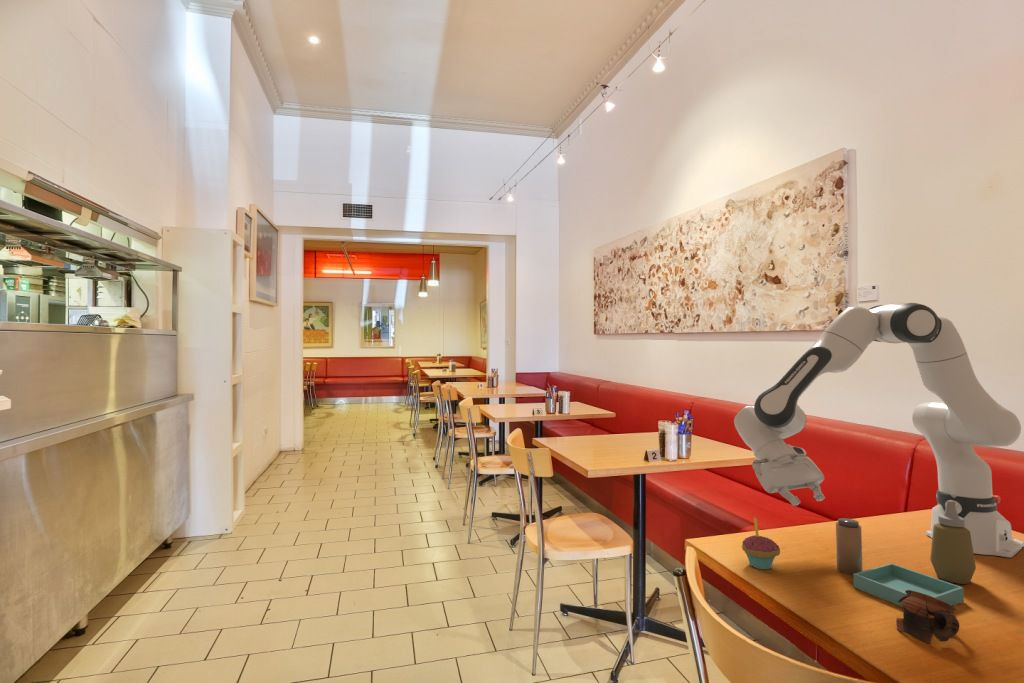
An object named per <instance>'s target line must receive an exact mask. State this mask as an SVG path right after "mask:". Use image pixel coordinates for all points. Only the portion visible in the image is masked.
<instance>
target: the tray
mask: <svg viewBox="0 0 1024 683" xmlns="http://www.w3.org/2000/svg"><path fill="white" fill-rule="evenodd" d="M852 576H853V588H855V589H857V590H859V591H861V592H865V593H867V594H870V595H872V596H875V597H877V598H879V599H882V600H884V601H887V602H889V603H892V604H893V605H896V606H899V607H902V608H904V607H903V606H902V601H901V602H898V600H899V599H900V598H902V597H903V596H906V595H907V593H906V592H905V591H906V590H912V591H916V592H920V593H923V594H926V595H929V596H932V597H934V598H937V599H939V600H942V601H944V602H945V603H948V604H950V605H951V606H952V605H954V606H957V605H959V604H958V603H960V604H962V603H961V602H963V603H964V602H965V600H964V597H965V596H964V586H963V587H962V586H960V585H956V584H953V583H952V582H949V581H946V580H943V579H939V578H936V577H933V576H930V575H927V574H924V573H923V572H918V571H915V570H913V569H909V568H907V567H904V566H901V565H898V564H896V563H893V562H892V563H887V564H883V565H880V566H877V567H876V566H875V567H872V568H869V569H866V570H865V569H864V570H863V571H861V572H858V573H854V574H853V575H852ZM956 604H957V605H956ZM952 607H953V606H952ZM928 616H930V615H929V614H928Z"/></svg>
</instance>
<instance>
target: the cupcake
mask: <svg viewBox="0 0 1024 683" xmlns="http://www.w3.org/2000/svg"><path fill="white" fill-rule="evenodd" d="M753 523H754V530H755V531H754V532H755V535H750V536H748V537H744V539H743V540H742V545H741V548H742V549H741V550H742V551H743V552H744V553H745V554H746V557H747V560H748V564H749V565H750V566H751V565H752V566H754V567H756V568H755V569H757V568H759V569H758V570H763V569H767V570H769V569H771V568H772V565H773V563H774V560H775V558H776V556H779V555H780V554H781V548H780V546H779V545H778V544H777V542H775V541H774V540H773V539H771V538H769V537H765V536H761V535H760V534H759V527H758V518H756V515H755V514H754V518H753ZM752 566H751V567H752ZM754 567H753V568H754Z"/></svg>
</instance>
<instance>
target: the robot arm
mask: <svg viewBox="0 0 1024 683" xmlns="http://www.w3.org/2000/svg"><path fill="white" fill-rule="evenodd" d="M872 342H880V343H881V342H882V343H888V344H903V343H904V344H905V343H907V344H908V345H909V346H910V348H911V350H912V352H913V355H914V359H915V363H916V366H917V369H918V371H919V375H920V378H921V381H922V383H923V386H924V387H925V388H926V389H927V390H928V391H929V392H930V393H932V394H934V395H935V396H937V397H938V398H939V399H940V400H933V401H927V402H922V403H919V404H918V405H917V406H916V407H915V408H914V410H913V411H912V414H911V415H912V418H911V419H912V423H913V426H914V428H915V429H916V430H917V431H918V432H919V433H920V434H921V435H923V437H924V438H925V439H926V441H927V442H928V444H929V446H930V449H931V450H932V452H933V455H934V459H935V462H936V467H937V482H938V483H937V484H938V489H936V494H935V496H936V502H937V504H936V505H935V506H934V507H932V510H931V521H930V522H931V524H930V530H926V532H925V535H926V536H928V537H930V538H931V539H932V537H933V527H934V525H935V524H937V523H939V522H938V515H940V514H944V512H945V508H946V505H947V501H953V502H954V504H955V507H956V510H957V514H958V516H959V517H962V518H963V519H964V523H965V526H964V527H965V528H967V529H968V530H969V531H970V534H971V540H972V546H973V553H974V555H975V554H976V555H986V556H997V557H998V556H999V557H1003V558H1013V557H1014V556H1015V555H1016V554H1018V552H1019V551H1021V549H1023V548H1024V541H1022V540H1019V539H1017V538H1014V537H1013V535H1012V534H1013V533H1012V532H1013V531H1012V524H1011V523H1010V521H1009V520H1007V519H1006V518H1005V517H1004V516H1003V515H1002V514H1001V513H1000V512H999V511H997V510H998V506H997V504H1000V503H1001V500H1002V499H1001V496H1000V495H994V494H993V479H992V478H993V475H992V473H993V472H992V469H991V467H990V465H989V463H987V462H986V461H985V460H983V458H981V457H980V456H979V454H978V453H977V452H976V451H975V449H974V447H973V446H979V447H985V448H987V447H988V448H990V447H994V448H995V447H1008V446H1012V445H1013V444H1014V443H1015V442H1017V440H1018V439H1019V437H1020V435H1021V433H1022V432H1021V431H1022V426H1021V422H1020V419H1019V418H1018V416H1017V415H1016V413H1014V412H1013V411H1011V410H1009V409H1007V408H1005V407H1004V406H1002V405H1001V404H1000V403H998V402H997V401H996V400H995V399H994V398H993V397H992V396H990V394H989V393H988V392H987V390H986V389H984V386H982V384H981V383H980V381H979V379H978V378H977V376H976V374H975V371H974V369H973V366H972V363H971V361H970V358H969V355H968V353H967V352H968V351H967V349H966V346H965V343H964V342H963V339H962V337H961V335H960V333H959V332H958V329H957V328H956V326H955V325H954V324H953V322H952V320H950V319H948V318H947V317H942V316H938V315H937V313H936V312H935V311H934V310H933V309H932V308H931V307H929V306H927V305H925V304H923V303H922V304H921V303H917V302H909V303H906V302H893V303H889V304H888V303H887V304H885V305H884V304H882V305H881V304H880V305H875V306H871V307H870V308H865V307H862V306H850V307H847V308H845V309H844V310H843V311H842V312H841V313H839V314H838V315H837V317H835V318H834V319H833V321H831V323H829V324H828V326H827V327H826V328H825V329H824V331H822V333H821V334H820V336H819V337H818V338H817V339H816V341H815V342H814V343H813V344H812V346H811V347H809V349H808V350H807V351H805V352H804V354H802V355H801V357H799V359H798V360H797V361H796V362H795V363H794V364H793V365H792V366H791V368H789V369H788V370H787V372H786V373H785V374H784V375H783V376H782V377H781V379H780V380H779V381H778V382H776V384H774V385H773V386H771V387H770V388H768V389H766V390H764V391H763V392H762V393H761V394H759V395H758V396H757V398H756V399H755V402H754V405H746V406H745V407H743V408H742V409H740V410H739V411H738V412H737V413H736V414H735V416H734V419H733V424H734V428H735V430H736V431H737V433H738V435H739V436H740V438H741V440H742V441H743V443H744V444H746V446H748V447H749V448H750V449H751V451H752V453H753V456H754V457H755V460H753V461H752V464H751V466H752V467H751V468H752V469H753V470H754V473H755V475H756V478H757V479H758V482H759V483H760V485H761V486H762V488H763V489H764V491H766V492H767V493H769V494H773V493H779V495H780V496H781V497H783V498H785V500H787V501H788V502H789V503H790V504H791V506H793V507H794V506H799V504H801V500H800V499H799V497H798V496H797V495H794V494H793V493H792V492H791V490H799V489H805V488H809V490H811V491H813V498H814V499H815V500H816V501H817V502H822V501H824V499H826V497H825V495H824V494H823V492H822V489H821V486H820V484H822V483H823V481H825V476H824V474H823V472H822V471H821V469H820V468H819V467H818V465H816V463H815V462H814V461H813V459H811V458H810V457H809V456H806V455H807V451H806V450H805V449H804V448H803V447H799V446H795V445H791V444H788V443H786V442H785V441H784V440H785V439H786V440H787V438H790V437H793V436H795V435H798V434H799V433H801V432H802V431H803V430H804V428H805V426H806V424H807V416H806V413H805V411H804V410H803V409H802V408H801V407H800V406H799V405H798V401H799V398H800V397H801V396H802V395H803V394H804V393H805V391H807V389H808V388H809V387H810V386H811V385H812V383H813V382H815V380H816V379H817V378H818V377H820V376H821V375H823V374H826V373H828V374H829V373H833V374H834V373H842V372H845V371H847V370H849V369H850V368H851V367H852V366H853V365H854V364H856V362H857V361H858V359H860V357H861V356H862V355H863V353H865V351H866V349H867V348H868V347H869V345H870V344H872ZM1022 547H1023V548H1022Z"/></svg>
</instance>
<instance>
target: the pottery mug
mask: <svg viewBox="0 0 1024 683" xmlns="http://www.w3.org/2000/svg"><path fill="white" fill-rule="evenodd" d="M905 592H906V593H907V595H906V596H903V597H902V598H900V599H899V600H898V602H901V601H902V606H903V607H902V608H903V610H902V612H903V614H902V615H903V618H901V617H897V618H896V630H897V631H899V632H903V633H905V634H907V635H909V636H911V637H913V638H915V639H918V640H920V641H922V642H925V643H927V644H931V642H932V638H933V636H934V637H935V638H936V639H937V640H938V641H940V642H942V643H943V642H948V641H949V640H950V639H952V638H954V637H955V636H956V635H957V634H958V633H959V631H960V630H959V629H960V621H959V620H958V618H957V616H956V615H955V612H956V608H955V607H954V606H951V605H950V604H948V603H945V602H944V601H942V600H939V599H937V598H934V597H932V596H929V595H926V594H923V593H920V592H916V591H912V590H906V591H905ZM928 614H929V615H928ZM930 616H932V617H930Z"/></svg>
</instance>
